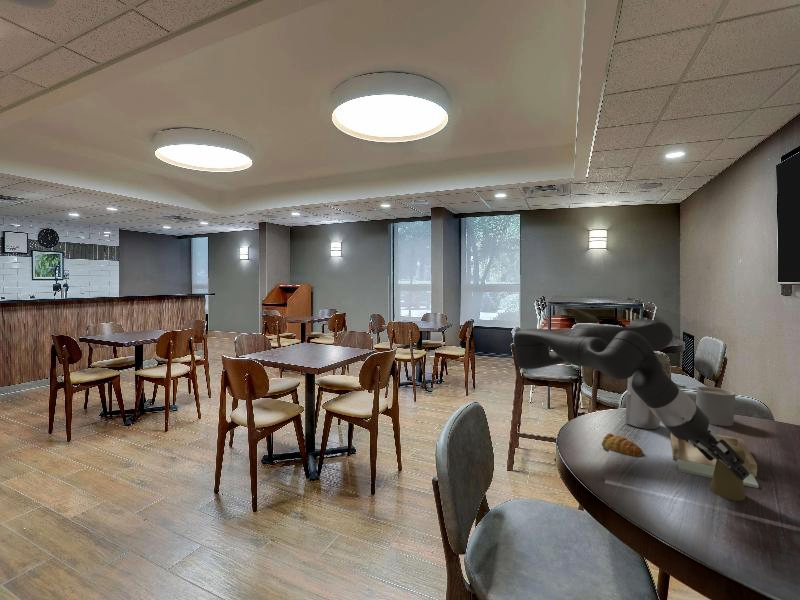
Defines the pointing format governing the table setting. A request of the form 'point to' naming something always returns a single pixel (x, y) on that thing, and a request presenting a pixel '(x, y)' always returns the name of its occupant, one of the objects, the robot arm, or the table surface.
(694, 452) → the tray
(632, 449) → the pastry
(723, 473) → the cork
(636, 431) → the table surface
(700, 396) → the coffee mug
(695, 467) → the panel
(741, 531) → the table surface
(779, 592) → the table surface
